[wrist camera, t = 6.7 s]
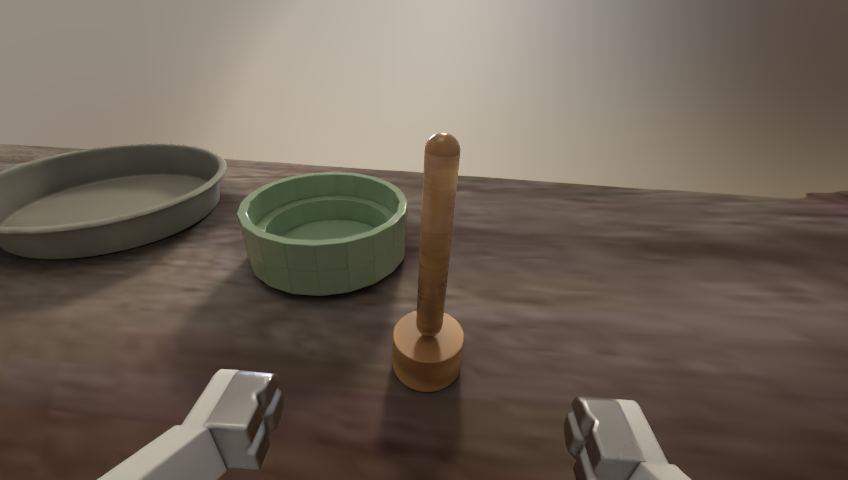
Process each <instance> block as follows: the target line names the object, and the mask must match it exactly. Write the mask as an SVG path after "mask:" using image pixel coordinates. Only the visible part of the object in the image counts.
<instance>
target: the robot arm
mask: <svg viewBox="0 0 848 480" xmlns="http://www.w3.org/2000/svg"><path fill="white" fill-rule="evenodd" d="M279 383H280V380H279V377H278V374H272V373H262V372H251V371H241V370H230V369H220V370H219V371H218V372H217V373H215V374H214V376H213V377H212V379H211V380H210V382H209V384H208V385H207V387H206V388H205V390H204V391H203V393H202V394H201V396H200V397H199V399H198V400H197V402H196V403H195V405H194V407H193V408H192V410H191V411H190V413H189V414H188V416H187V417H186V419H185V420H184V422H183V423H182V425H175V426H174V427H172V428H171V429H169V430H168V431H166V432H165V433H164V434H162V435H161V436H159V437H158V438H156V439H155V440H153V441H152V442H151V443H149V444H148V445H146V446H145V447H143V448H142V449H141V450H139V451H138V452H136V453H135V454H133V455H132V456H131V457H129V458H128V459H126V460H125V461H123V462H122V463H120V464H119V465H118V466H116V467H115V468H113V469H112V470H110V471H109V472H108V473H106V474H105V475H103V476H102V477H100V478H99V479H98V480H218V479H219V478H220V477H221V476H222V475H223V474H224V473H225V472H226V471H227V469H226V468H232V469H252V470H260V467H261V465H262V463H263V460H264V458H265V455H266V453H267V451H268V448H269V446H270V442H269V438H268V435H269V434H270V433H271V432H272V431H274V430H275V429H276V428H277V426H278V424H279V421H280V419H281V415H282V411H283V406H284V397H283V393H282V391H280V390H279V389H278V388H277V387H278V385H279ZM572 407H573V410H574V411H572V412H570V413H569V414H567V416H566V419H565V422H564V436H565V442H566V445H567V449H568V451H569V452H570V454H571V455H572V456H573V457H574V458H575V459H576V462H575V464H574V467H573V470H574V474H575V477H576V480H691V479H690V478H689V477H688V476H687V475H686V474H684V473H683V472H682V471H681V470H680V469H679V468H678V467H677V466H676V465H671V464H669V463H668V461H667V459H666V457H665V456H664V454H663V452H662V450H661V448H660V446H659V444H658V442H657V440H656V438H655V436H654V434H653V432H652V430H651V428H650V426H649V424H648V422H647V420H646V418H645V416H644V414H643V412H642V410H641V408H640V406H639V405H638V404H637V403H636V402H635V401H632V400H617V399H612V398H596V397H579V396H577V397H576V398H574V400H573V402H572Z"/></svg>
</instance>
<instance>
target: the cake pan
mask: <svg viewBox="0 0 848 480" xmlns="http://www.w3.org/2000/svg"><path fill="white" fill-rule="evenodd" d="M226 168H227V167H226V162H225V161H224V159H223V158H222V157H221V156H219V155H217V154H216V153H214V152H212V151H209V150H206V149H202V148H198V147H194V146H186V145H176V144H132V145H119V146H109V147H101V148H93V149H86V150H79V151H74V152H68V153H63V154H58V155H54V156H49V157H45V158H41V159H37V160H33V161H29V162H26V163H22V164H19V165H16V166H12V167H9V168H7V169H4V170H1V171H0V247H1V248H2V249H3V250H5V251H7V252H9V253H12V254H15V255H18V256H22V257H28V258H36V259H72V258H83V257H90V256H97V255H103V254H109V253H114V252H118V251H123V250H127V249H131V248H135V247H139V246H142V245H146V244H149V243H152V242H155V241H158V240H160V239H163V238H166V237H169V236H171V235H173V234H176V233H178V232H180V231H182V230H184V229H186V228H188V227H190V226H192V225H194V224H195V223H197V222H198V221H200V220H202V219H203V218H204V217H206V216H207V215H208V214H209V213H210V212H211V211H212V210H213V209H214V208H215V207H216V205H217V203H218V201H219V198H220V180H221V179H222V177H223V176H224V174H225V172H226Z"/></svg>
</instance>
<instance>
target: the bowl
mask: <svg viewBox="0 0 848 480" xmlns="http://www.w3.org/2000/svg"><path fill="white" fill-rule="evenodd" d="M237 217H238V221H239V225H240V229H241V233H242V237H243V241H244V245H245V249H246V253H247V257H248V261H249V264H250V266H251V268H252V271H253V273H254V275H255V276H257V277H258V278H259V279H260V280H262V281H263V282H264V283H266V284H267V285H268V286H270V287H273V288H276V289H279V290H282V291H285V292H288V293H291V294H301V295H315V296H324V295H332V294H340V293H347V292H352V291H354V290H357V289H360V288H363V287H366V286H369V285H372V284H375V283H377V282H378V281H380V280H381V279H383V278H384V277H386V276H387V275H389V274H391V273H392V272H393V271H394V270H395V269H396V268H397V267H398V265H399V264H400V263H401V261H402V260H403V259H404V256H405V250H406V240H407V200H406V198H405V196H404V194H403V192H402V191H401V190H400V189H398V188H397V187H396V186H394V185H393V184H391V183H389V182H386V181H384V180H381V179H379V178H376V177H373V176H367V175H362V174H357V173H345V172H323V173H309V174H303V175H297V176H291V177H287V178H284V179H281V180H277V181H274V182H271V183H269V184H267V185H265V186H263V187H261V188H259V189H257V190H255V191H253V192H252V193H251V194H249V195H248V196H247V197H246V198H245V199H244V200H243V201H242V202H241V204H240V207H239V210H238V213H237Z"/></svg>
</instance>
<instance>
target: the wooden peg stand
mask: <svg viewBox="0 0 848 480" xmlns="http://www.w3.org/2000/svg"><path fill="white" fill-rule="evenodd" d="M459 158H460V146H459V143H458V141H457V140H456V138H454V137H453V136H452V135H450V134H448V133H437V134H435V135H433V136H432V137H431V138H430V139H429V140H428V142H427V143H426V146H425V157H424V177H423V197H422V217H421V237H420V257H419V277H418V296H417V311H413V312H410V313H408V314H406V315H404V316H403V317H402V318H401V319H400V320H399V321H398V322H397V323H396V325H395V327H394V329H393V363H392V364H393V369H394V372H395V374H396V376H397V377H398V379H399V380H400V381H401V382H402V383H403V384H405V385H406V386H408V387H409V388H412V389H414V390H417V391H422V392H433V391H438V390H441V389H444V388H446V387H447V386H449V385H450V384H452V383H453V382H454V380H455V379H456V378H457V376H458V374H459V371H460V365H461V358H462V352H463V345H464V332H463V330H462V328H461V326H460V324H459V323H458V322H457V321H456V320H455V319H454V318H453V317H451V316H449V315H448V314H446V313H444V305H445V296H446V286H447V276H448V266H449V257H450V247H451V237H452V227H453V217H454V208H455V198H456V188H457V178H458V169H459Z"/></svg>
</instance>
